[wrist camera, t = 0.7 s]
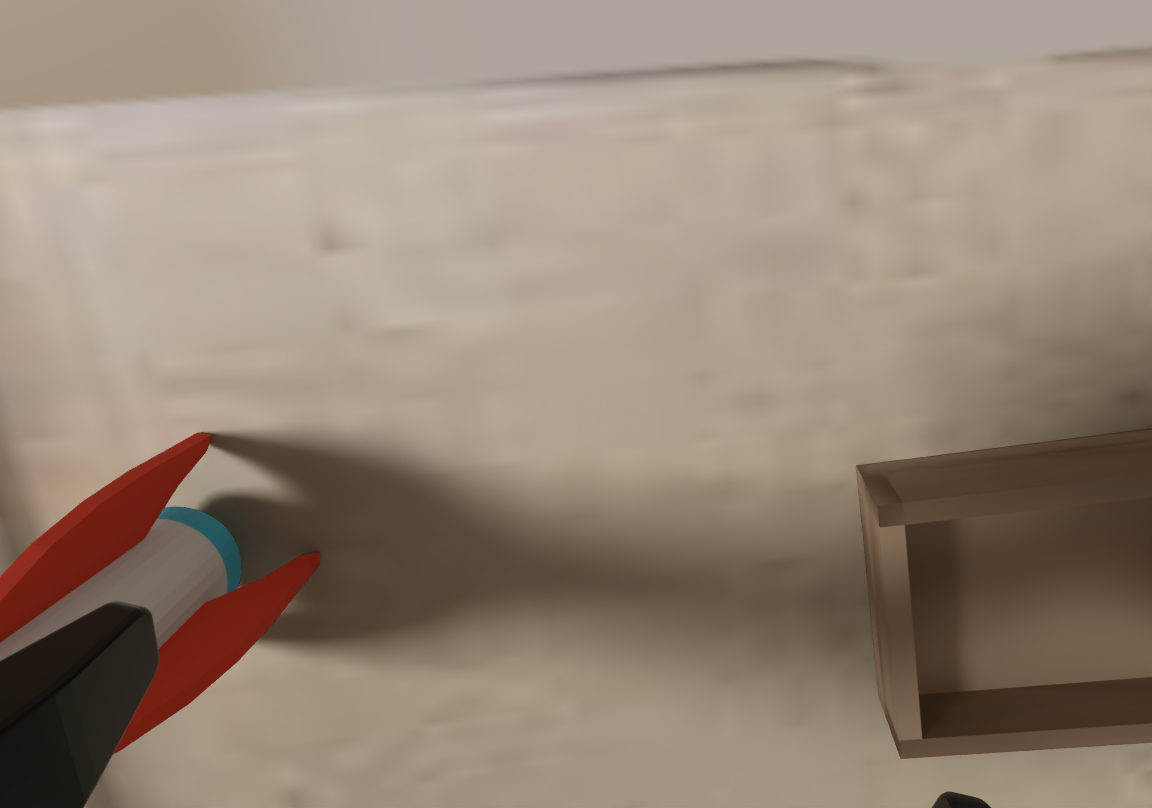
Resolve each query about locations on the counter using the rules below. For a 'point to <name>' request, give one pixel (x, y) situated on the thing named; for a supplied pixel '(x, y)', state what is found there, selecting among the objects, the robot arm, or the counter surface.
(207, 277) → the counter surface
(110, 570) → the toy rocket
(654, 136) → the counter surface
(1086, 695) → the caddy
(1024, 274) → the counter surface
